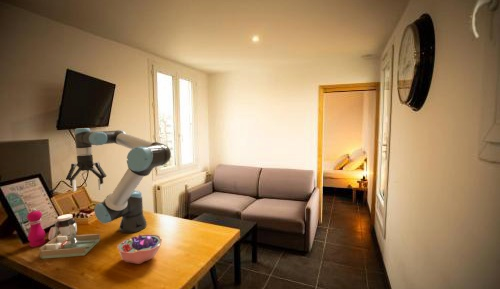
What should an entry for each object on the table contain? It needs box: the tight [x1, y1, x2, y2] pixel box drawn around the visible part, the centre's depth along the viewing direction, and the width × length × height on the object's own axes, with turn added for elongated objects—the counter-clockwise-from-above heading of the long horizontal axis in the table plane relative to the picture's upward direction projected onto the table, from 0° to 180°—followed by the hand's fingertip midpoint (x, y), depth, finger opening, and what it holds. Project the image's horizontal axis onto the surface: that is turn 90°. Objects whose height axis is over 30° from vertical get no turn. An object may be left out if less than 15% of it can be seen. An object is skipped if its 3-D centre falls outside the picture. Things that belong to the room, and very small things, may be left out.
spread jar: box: [47, 213, 78, 241], centre depth 134 cm, size 12×11×12 cm
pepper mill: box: [26, 207, 46, 248], centre depth 126 cm, size 7×7×20 cm
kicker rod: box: [61, 218, 80, 249], centre depth 121 cm, size 7×4×15 cm, turn 97°
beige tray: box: [38, 233, 101, 260], centre depth 122 cm, size 20×15×5 cm
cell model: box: [116, 233, 163, 265], centre depth 111 cm, size 17×20×11 cm
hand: (87, 190), depth 138 cm, fingers open, 13 cm apart
